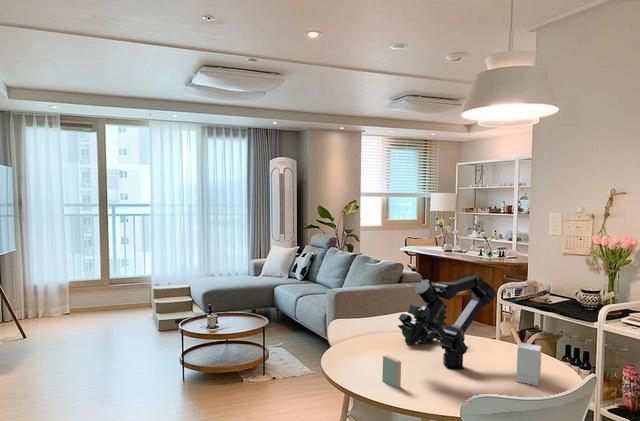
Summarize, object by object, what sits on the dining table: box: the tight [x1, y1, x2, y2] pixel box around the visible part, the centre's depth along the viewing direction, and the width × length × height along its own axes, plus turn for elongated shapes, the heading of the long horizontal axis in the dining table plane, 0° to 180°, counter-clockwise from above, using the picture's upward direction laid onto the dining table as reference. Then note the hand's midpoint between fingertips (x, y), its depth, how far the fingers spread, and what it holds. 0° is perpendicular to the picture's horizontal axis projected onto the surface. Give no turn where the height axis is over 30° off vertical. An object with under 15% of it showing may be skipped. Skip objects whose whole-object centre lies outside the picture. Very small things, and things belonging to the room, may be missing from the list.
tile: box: [381, 355, 402, 389], centre depth 161 cm, size 2×7×9 cm, turn 35°
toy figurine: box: [397, 308, 448, 345], centre depth 209 cm, size 9×19×25 cm
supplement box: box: [516, 342, 542, 386], centre depth 166 cm, size 7×7×13 cm
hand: (409, 344), depth 165 cm, fingers closed
